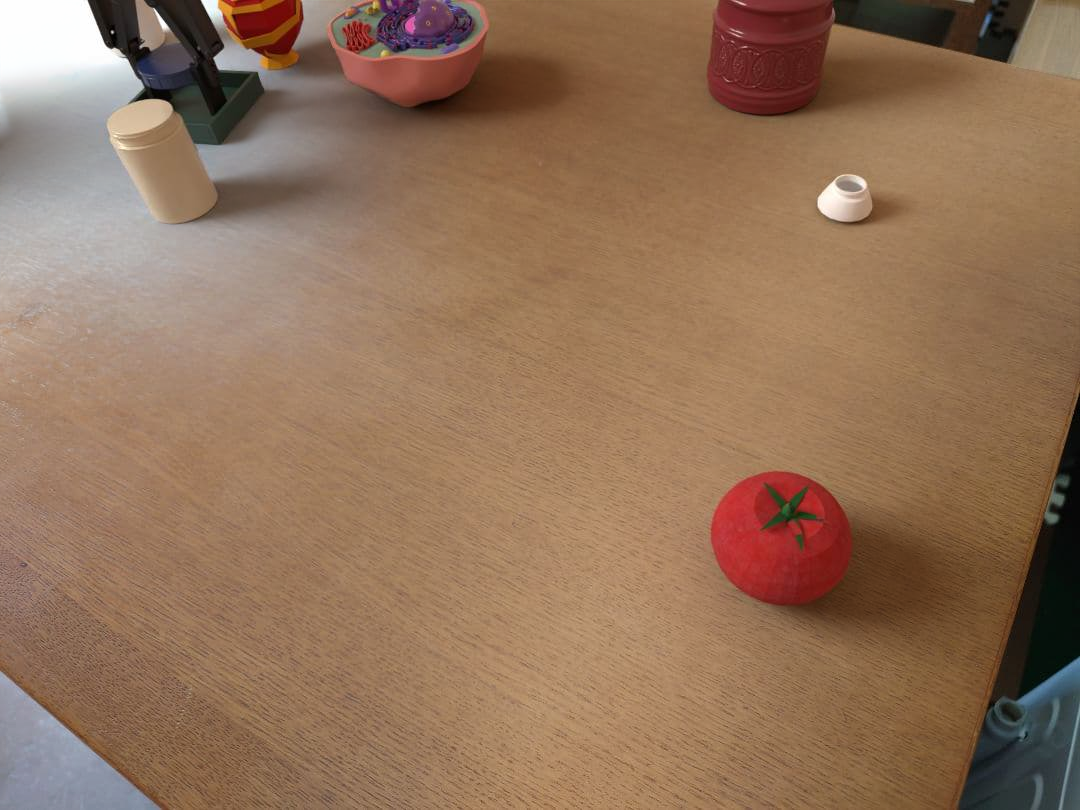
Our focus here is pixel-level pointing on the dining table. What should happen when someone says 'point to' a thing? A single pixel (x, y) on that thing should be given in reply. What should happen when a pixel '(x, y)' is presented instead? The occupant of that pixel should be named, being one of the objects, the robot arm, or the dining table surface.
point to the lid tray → (196, 115)
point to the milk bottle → (144, 27)
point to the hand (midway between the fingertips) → (191, 106)
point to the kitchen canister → (768, 53)
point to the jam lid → (166, 67)
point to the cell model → (410, 47)
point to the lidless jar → (846, 199)
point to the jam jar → (162, 160)
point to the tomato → (781, 538)
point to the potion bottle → (265, 28)
